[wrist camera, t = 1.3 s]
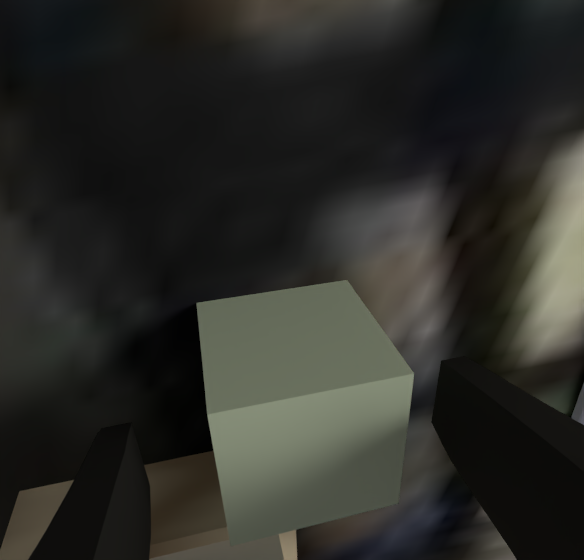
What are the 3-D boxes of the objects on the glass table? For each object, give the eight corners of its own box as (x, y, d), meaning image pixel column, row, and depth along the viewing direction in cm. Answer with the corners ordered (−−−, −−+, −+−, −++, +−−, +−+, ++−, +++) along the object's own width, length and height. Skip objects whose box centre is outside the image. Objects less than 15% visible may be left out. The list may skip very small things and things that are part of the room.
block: (345, 278, 12) (413, 373, 9) (343, 390, 14) (398, 503, 11) (196, 301, 11) (206, 414, 8) (215, 415, 13) (230, 546, 10)
